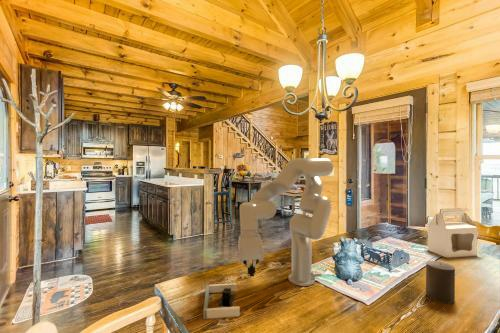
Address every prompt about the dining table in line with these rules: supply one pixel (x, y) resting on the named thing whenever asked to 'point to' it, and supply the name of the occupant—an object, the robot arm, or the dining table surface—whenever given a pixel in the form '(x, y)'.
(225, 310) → the u-shaped wooden bracket
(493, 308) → the dining table surface
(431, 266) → the pillar candle
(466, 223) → the gable box
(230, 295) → the black boxy piece
